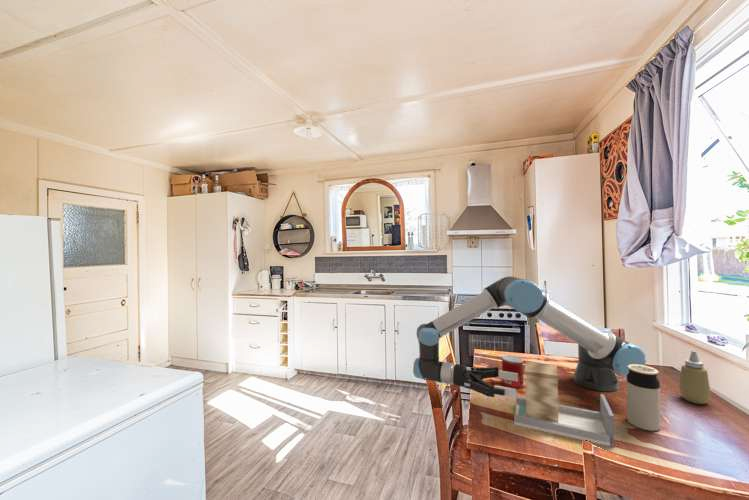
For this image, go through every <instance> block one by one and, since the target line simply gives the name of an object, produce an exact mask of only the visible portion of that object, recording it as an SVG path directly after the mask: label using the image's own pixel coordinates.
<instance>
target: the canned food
mask: <svg viewBox="0 0 749 500" xmlns="http://www.w3.org/2000/svg"><path fill="white" fill-rule="evenodd" d="M501 365H502V367H501V371H506V372H513V373H518V381H512V380H506V379H501V380H502V384H503V385H504V387H508V388H513V389H521V388H523V386H524V359H523V358H522V357H520V356H518V355H510V354H509V355H508V354H507V355H503V356H501Z"/></svg>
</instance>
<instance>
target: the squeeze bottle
mask: <svg viewBox="0 0 749 500" xmlns="http://www.w3.org/2000/svg"><path fill="white" fill-rule="evenodd" d="M680 369H681V370H680V376H679V384H678V388H679V391H680V393H681V396H682V398H683V399H684V400H686V401H688V402H690V403H694V404H700V405H705V404H707V402H708V401H709V398H710V397H711V388H710V387H711V385H710V381H709V373H708V371H707V369H705V368H704V363H703V361H700V359H699V356H698V352H697V351H695V350H691V352H690V356H689V359H684V364H683V365H681V368H680Z"/></svg>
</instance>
